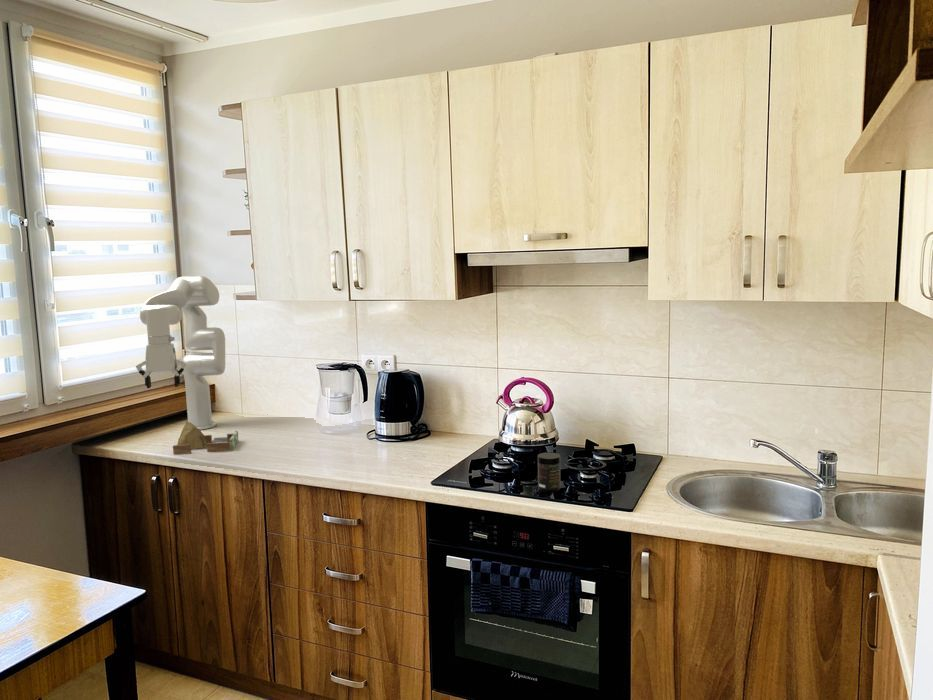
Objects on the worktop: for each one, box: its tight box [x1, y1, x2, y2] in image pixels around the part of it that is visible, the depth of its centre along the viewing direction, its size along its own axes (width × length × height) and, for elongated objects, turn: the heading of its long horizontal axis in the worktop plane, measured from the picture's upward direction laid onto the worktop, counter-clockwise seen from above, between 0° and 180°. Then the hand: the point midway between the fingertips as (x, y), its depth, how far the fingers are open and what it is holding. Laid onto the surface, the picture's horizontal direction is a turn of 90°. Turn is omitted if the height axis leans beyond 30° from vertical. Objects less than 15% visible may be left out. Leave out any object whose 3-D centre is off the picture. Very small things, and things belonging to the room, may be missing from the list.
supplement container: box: [537, 452, 561, 493], centre depth 213 cm, size 7×7×10 cm
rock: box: [177, 421, 208, 450], centre depth 269 cm, size 11×9×10 cm
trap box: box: [172, 430, 239, 455], centre depth 273 cm, size 20×21×4 cm
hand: (163, 387), depth 260 cm, fingers open, 9 cm apart
